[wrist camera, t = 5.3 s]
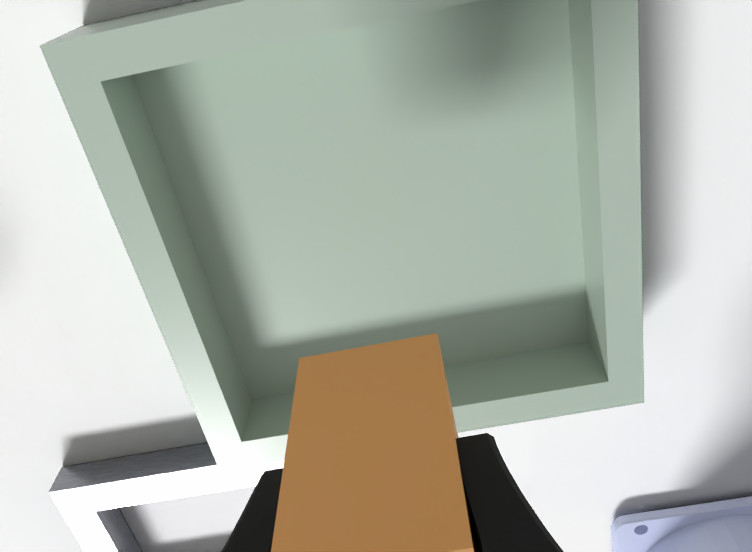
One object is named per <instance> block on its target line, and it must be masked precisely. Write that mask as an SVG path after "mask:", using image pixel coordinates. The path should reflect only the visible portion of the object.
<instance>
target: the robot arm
mask: <svg viewBox="0 0 752 552" xmlns="http://www.w3.org/2000/svg"><path fill="white" fill-rule="evenodd" d="M456 443H457V450H458V456H459V463H460V469H461V475H462V481H463V486H464V490H465V495H466V500H467V505H468V510H469V515H470V520H471V525H472V530H473V535H474V540H475V544H476V549H477V552H563V550H562V549H561V548H560V547H559V545H558V544H557V543H556V541H555V540H554V539H553V537H552V536H551V535H550V533H549V532H548V531H547V529H546V528H545V526H544V525H543V524H542V522H541V521H540V519H539V518H538V516H537V515H536V513H535V512H534V510H533V509H532V507H531V506H530V504H529V503H528V501H527V500H526V498H525V497H524V495H523V494H522V492H521V491H520V489H519V487H518V486H517V484H516V482H515V480H514V479H513V477H512V475H511V474H510V472H509V470H508V468H507V466H506V464H505V462H504V460H503V458H502V456H501V454H500V452H499V450H498V447H497V445H496V442H495V439H494V437H493V436H491V435H489V434H488V433H485V434H479V435H473V436H467V437H462V438H456ZM282 472H283V468H279V469H273V470H267V471H264V473H263V474H262V475H261V477H260V479H259V481H258V483H257V485H256V487H255V489H254V491H253V493H252V495H251V497H250V499H249V501H248V503H247V505H246V507H245V509H244V511H243V513H242V515H241V517H240V518H239V520H238V522H237V524H236V526H235V528H234V530H233V532H232V534H231V535H230V537H229V539H228V541H227V542H226V544H225V546H224V548H223V550H222V551H221V552H271V548H272V541H273V534H274V527H275V520H276V514H277V507H278V500H279V493H280V486H281V479H282ZM639 525H640V526H639ZM611 530H612V550H613V552H752V496H750V497H743V498H736V499H730V500H723V501H716V502H709V503H703V504H696V505H689V506H682V507H676V508H669V509H662V510H656V511H649V512H642V513H635V514H629V515H623V516H619V517H618V518H616V519H615V520H614V521H613V522H612V526H611Z"/></svg>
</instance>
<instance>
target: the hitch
mask: <svg viewBox="0 0 752 552" xmlns="http://www.w3.org/2000/svg"><path fill="white" fill-rule="evenodd" d="M283 466H284V461H279V462H273V463H267V464H260V465H254V466H248V467H242V468H236V469H229V470H223V471H220V470H219V468H218V466H217V463H216V461H215V458H214V456H213V454H212V451H211V449H210V447H209V444H208V443H205V444H198V445H192V446H186V447H180V448H174V449H168V450H162V451H156V452H150V453H144V454H138V455H132V456H126V457H120V458H114V459H108V460H102V461H96V462H90V463H84V464H78V465H71V466H65V467H62V468H61V470H60V472H59V474H58V475H57V477H56V479H55V481H54V483H53V485H52V487H51V489H50V491H49V494H50V496H51V498H52V499H53V501H54V503H55V504H56V506H57V507H58V509H59V511H60V512H61V514H62V516H63V517H64V519H65V521H66V522H67V524H68V526H69V527H70V529H71V531H72V532H73V534H74V536H75V537H76V539H77V541H78V542H79V544H80V546H81V547H82V549H83V551H84V552H142V551H141V549H140V547H139V545H138V543H137V541H136V539H135V538H134V536H133V534H132V532H131V530H130V528H129V526H128V525H127V523H126V521H125V519H124V517H123V515H122V514H121V512H120V510H119V508H120V507H127V506H133V505H139V504H145V503H152V502H158V501H164V500H171V499H177V498H183V497H190V496H196V495H202V494H208V493H215V492H221V491H227V490H234V489H240V488H246V487H252V486H256V485H257V483H258V481H259V479H260V477H261V475H262V474H263V473H264V471H267V470H273V469H279V468H283Z"/></svg>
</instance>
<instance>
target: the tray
mask: <svg viewBox="0 0 752 552" xmlns="http://www.w3.org/2000/svg"><path fill="white" fill-rule="evenodd" d="M40 48H41V50H42V52H43V55H44V57H45V59H46V62H47V64H48V66H49V69H50V71H51V74H52V76H53V78H54V81H55V83H56V85H57V88H58V90H59V92H60V95H61V97H62V100H63V102H64V104H65V107H66V109H67V111H68V114H69V116H70V118H71V121H72V123H73V126H74V128H75V130H76V133H77V135H78V137H79V140H80V142H81V144H82V147H83V149H84V151H85V154H86V156H87V159H88V161H89V163H90V166H91V168H92V170H93V173H94V175H95V177H96V180H97V182H98V185H99V187H100V189H101V192H102V194H103V196H104V199H105V201H106V203H107V206H108V208H109V211H110V213H111V215H112V218H113V220H114V222H115V225H116V227H117V229H118V232H119V234H120V236H121V239H122V241H123V244H124V246H125V248H126V251H127V253H128V255H129V258H130V260H131V262H132V265H133V267H134V270H135V272H136V274H137V277H138V279H139V281H140V284H141V286H142V288H143V291H144V293H145V296H146V298H147V300H148V303H149V305H150V307H151V310H152V312H153V314H154V317H155V319H156V322H157V324H158V326H159V329H160V331H161V333H162V336H163V338H164V340H165V343H166V345H167V347H168V350H169V352H170V355H171V357H172V359H173V362H174V364H175V366H176V369H177V371H178V373H179V376H180V378H181V381H182V383H183V385H184V388H185V390H186V392H187V395H188V397H189V399H190V402H191V404H192V407H193V409H194V411H195V414H196V416H197V418H198V421H199V423H200V425H201V428H202V430H203V433H204V435H205V437H206V440H207V442H208V444H209V447H210V449H211V451H212V454H213V456H214V458H215V461H216V463H217V466H218V468H219V470H220V471H223V470H229V469H236V468H242V467H248V466H254V465H260V464H267V463H273V462H279V461H284V459H285V452H286V445H287V438H288V431H289V425H290V418H291V411H292V404H293V397H294V390H295V384H296V377H297V370H298V363H299V358H303V357H308V356H314V355H319V354H325V353H330V352H336V351H341V350H347V349H352V348H358V347H363V346H369V345H374V344H380V343H385V342H391V341H396V340H402V339H407V338H413V337H418V336H424V335H429V334H435V333H437V334H438V339H439V344H440V349H441V354H442V359H443V364H444V369H445V374H446V379H447V384H448V389H449V394H450V399H451V404H452V409H453V414H454V419H455V424H456V429H457V433H458V432H465V431H471V430H477V429H483V428H489V427H495V426H502V425H508V424H514V423H520V422H526V421H533V420H539V419H545V418H551V417H557V416H564V415H570V414H576V413H582V412H588V411H595V410H601V409H607V408H613V407H619V406H625V405H632V404H638V403H644V366H643V299H642V233H641V166H640V99H639V33H638V0H197V1H192V2H188V3H183V4H179V5H174V6H170V7H165V8H160V9H156V10H151V11H147V12H142V13H138V14H133V15H129V16H124V17H120V18H115V19H111V20H106V21H102V22H97V23H93V24H88V25H84V26H81V27H79V28H76V29H74V30H72V31H70V32H68V33H66V34H64V35H62V36H59V37H57V38H55V39H53V40H51V41H49V42H47V43H45V44H42V45H40Z"/></svg>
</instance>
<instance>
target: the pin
mask: <svg viewBox="0 0 752 552" xmlns="http://www.w3.org/2000/svg"><path fill="white" fill-rule="evenodd" d="M456 438H458V434H457V429H456V424H455V419H454V414H453V409H452V404H451V399H450V394H449V389H448V384H447V379H446V374H445V369H444V364H443V359H442V354H441V349H440V344H439V339H438V334H437V333H435V334H429V335H424V336H418V337H413V338H407V339H402V340H396V341H391V342H385V343H380V344H374V345H369V346H363V347H358V348H352V349H347V350H341V351H336V352H330V353H325V354H319V355H314V356H308V357H303V358H299V363H298V370H297V377H296V384H295V390H294V397H293V404H292V411H291V418H290V425H289V431H288V438H287V445H286V452H285V459H284V466H283V472H282V479H281V486H280V493H279V500H278V507H277V514H276V520H275V527H274V534H273V541H272V548H271V552H477V549H476V544H475V540H474V535H473V530H472V525H471V520H470V515H469V510H468V505H467V500H466V495H465V490H464V486H463V481H462V475H461V469H460V463H459V456H458V450H457V443H456Z"/></svg>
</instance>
